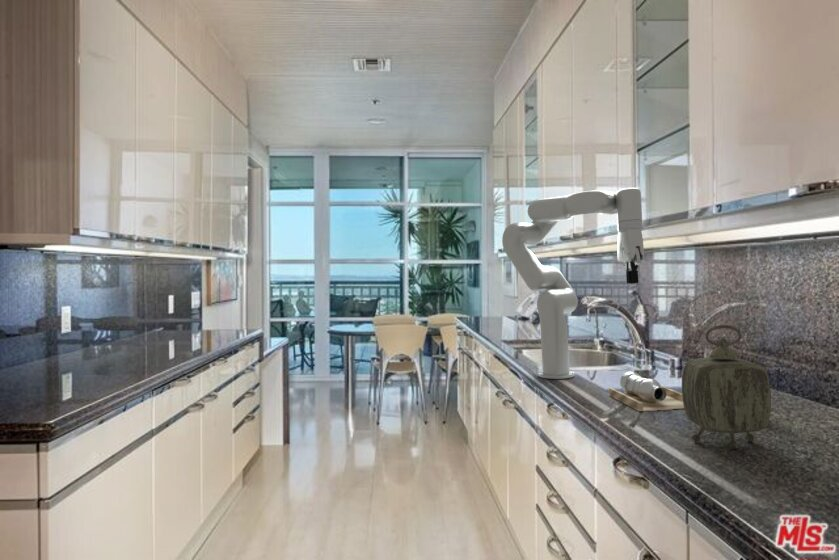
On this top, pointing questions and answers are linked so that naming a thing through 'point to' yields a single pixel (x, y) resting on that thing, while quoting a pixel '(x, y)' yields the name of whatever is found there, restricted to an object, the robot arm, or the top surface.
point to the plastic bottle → (642, 387)
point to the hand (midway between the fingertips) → (632, 283)
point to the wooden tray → (669, 403)
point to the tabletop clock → (726, 392)
